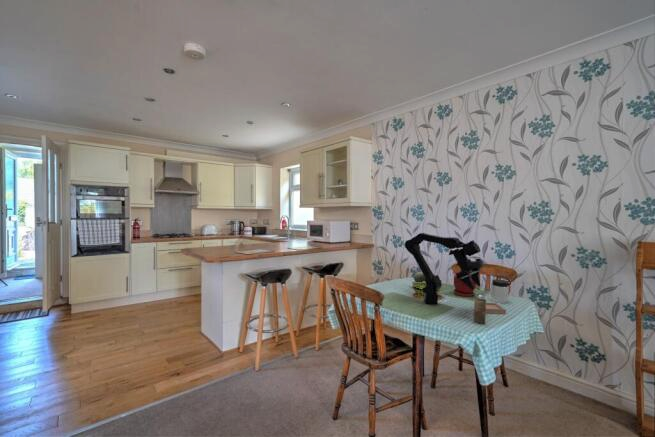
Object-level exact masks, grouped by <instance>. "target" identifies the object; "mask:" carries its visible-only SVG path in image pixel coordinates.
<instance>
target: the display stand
mask: <svg viewBox="0 0 655 437" xmlns="http://www.w3.org/2000/svg"><path fill="white" fill-rule="evenodd" d="M486 314H493V315H506V314H507V309H506V308H504V307H502V306H501V305H500V304H498V302H486Z"/></svg>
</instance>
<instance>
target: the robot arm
mask: <svg viewBox="0 0 655 437" xmlns="http://www.w3.org/2000/svg"><path fill="white" fill-rule="evenodd" d="M423 241H424V242H429V243H433V244H439V245H441V246H443V247H445V248H447V249H449V252H448V256H451V255H453V257H454V259H455V262H456V267H459V269H460V271H459V272H457V273H455V274H456V277H457V279H459V278H461V279H459V280H461V281H462V282H463V283H465V284H466V285H467V286H468V287H469V288H471V289H472V290H473V289H474V286H473V284H472V281H471V279H472V280H473V281H474V282H475V283H476V286H477V287H481V281H480V276H479V275H480V273H481V270H482V269H481V268H483V267H484V265H483V264H484V262H483V260H482V259H481V258H476V259H475V260H473V261H472V259H470V258H468V257H471V256H472V257H473V256H475V255H476V254H479V253H481V248H480V246H479V244H477V242H475V240H470V241H468V242H467V243H464V242H463V241H461V240H460V239H459V238H458V237H455V236H454V237H450V236H449V237H444V236H438V235H435V234H434V235H433V234H428V233H425V232H420V233H417V235H416V236H414V237H412V238H410V239H408V240H405V242H404V248H405V250H406V251H407V252H409V253H410V254H411V255H412V256H413V259H414V260H415V262H416V264H417V265H418V267H419V269H420V270H421V271H420V272H423V274H424V276H425V282H426V285H427V286H425V287H424V288H423V290H422V292H423V293H424V298H423V302H424V303H425V305H439V304H438V303H439V295H438V292H439V290H440V289H441V288H442V287H443V285H442V280H441V278H440V276H439V274H434V273H433V272H432V270H431V268H430V266H429V265H428V263H427V261H426V259H425V258H424V256H423V254H422V252H421V247H420V245H421V243H423ZM474 290H475V289H474Z"/></svg>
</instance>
